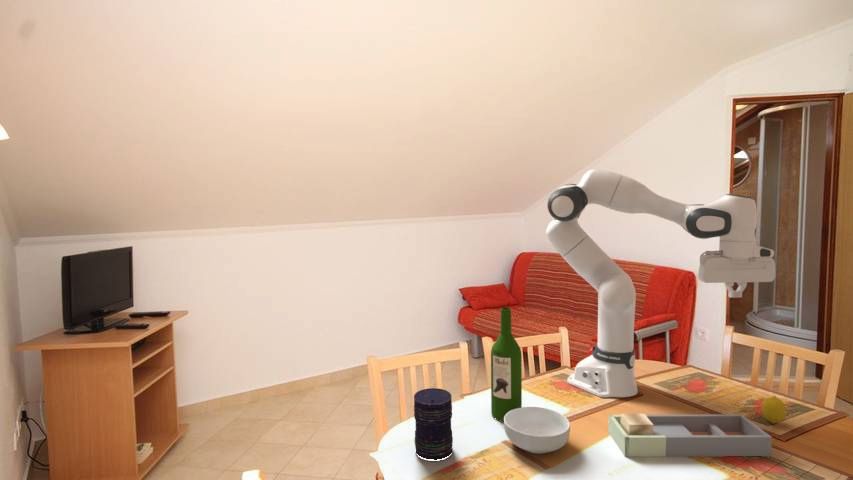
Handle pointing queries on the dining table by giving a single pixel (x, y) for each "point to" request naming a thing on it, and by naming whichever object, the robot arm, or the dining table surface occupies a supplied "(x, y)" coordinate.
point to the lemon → (773, 409)
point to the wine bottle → (505, 370)
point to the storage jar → (433, 423)
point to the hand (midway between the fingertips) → (735, 297)
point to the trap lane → (694, 437)
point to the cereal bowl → (536, 429)
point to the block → (636, 424)
